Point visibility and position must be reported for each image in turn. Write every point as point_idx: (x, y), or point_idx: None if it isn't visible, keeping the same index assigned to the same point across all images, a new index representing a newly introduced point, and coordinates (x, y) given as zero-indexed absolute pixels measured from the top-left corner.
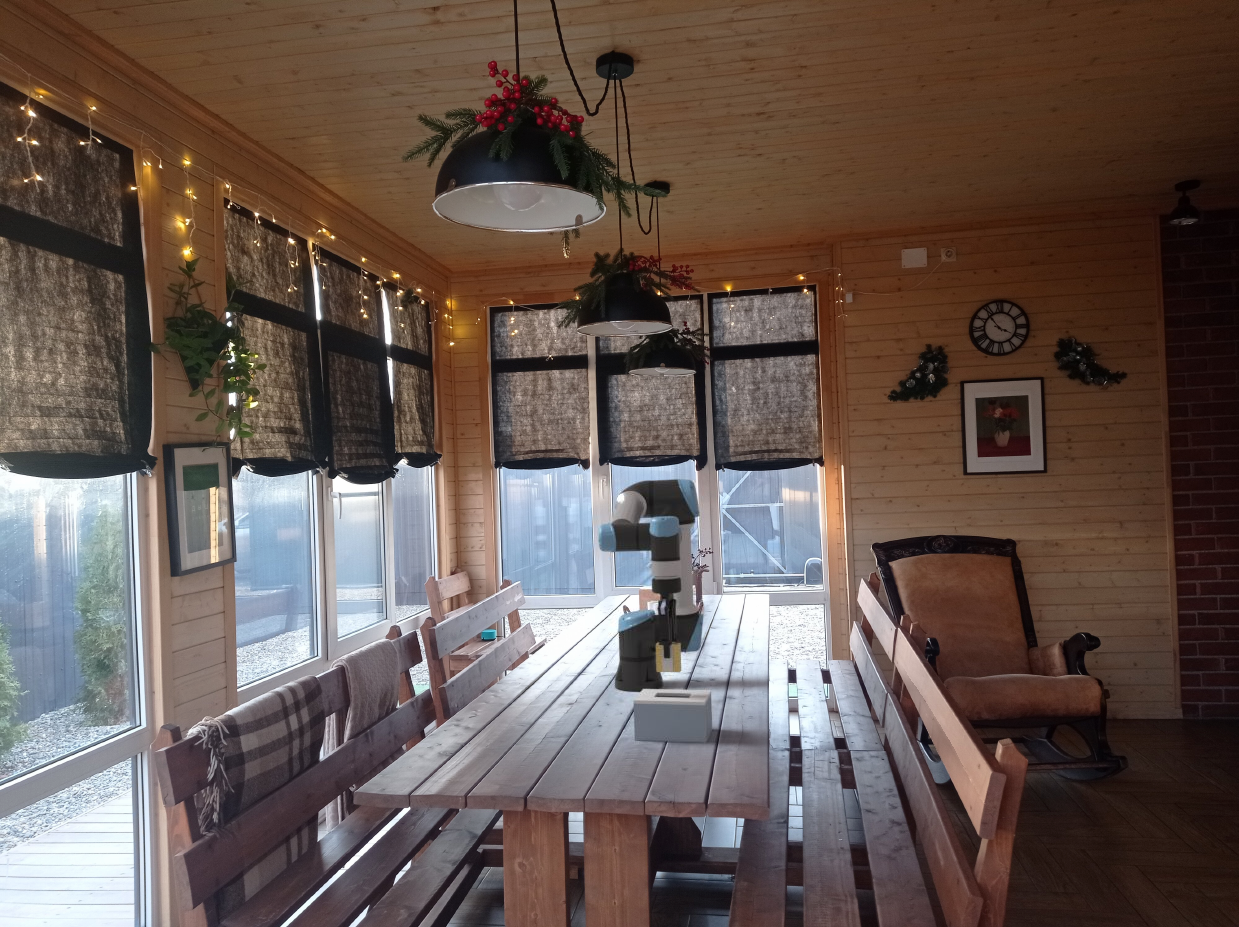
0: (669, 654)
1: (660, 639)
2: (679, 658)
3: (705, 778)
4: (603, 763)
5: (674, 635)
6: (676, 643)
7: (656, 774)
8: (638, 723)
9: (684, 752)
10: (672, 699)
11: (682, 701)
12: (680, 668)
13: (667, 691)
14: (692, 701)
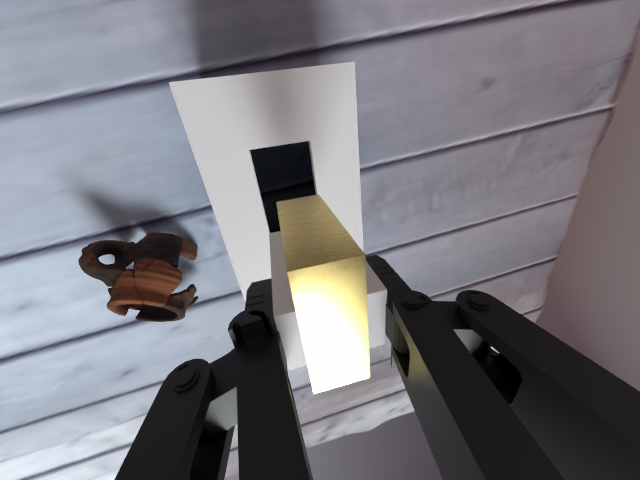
0: (384, 265)
1: (500, 363)
2: (332, 215)
3: (541, 20)
4: (454, 230)
5: (260, 372)
6: (321, 289)
7: (508, 129)
8: None
9: (394, 115)
10: (340, 186)
11: (358, 147)
12: (300, 201)
13: (250, 235)
14: (354, 112)
